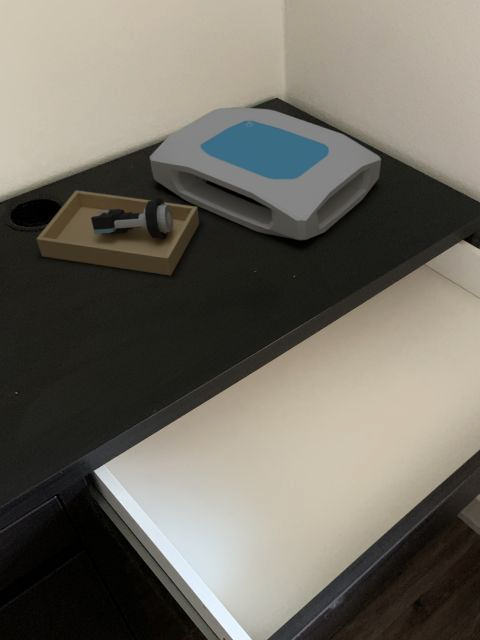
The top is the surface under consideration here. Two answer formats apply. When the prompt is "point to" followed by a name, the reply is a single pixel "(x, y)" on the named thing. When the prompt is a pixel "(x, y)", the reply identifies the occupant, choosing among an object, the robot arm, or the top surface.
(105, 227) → the push button
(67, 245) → the tray
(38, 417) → the top surface
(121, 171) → the top surface
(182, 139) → the grey rounded box
